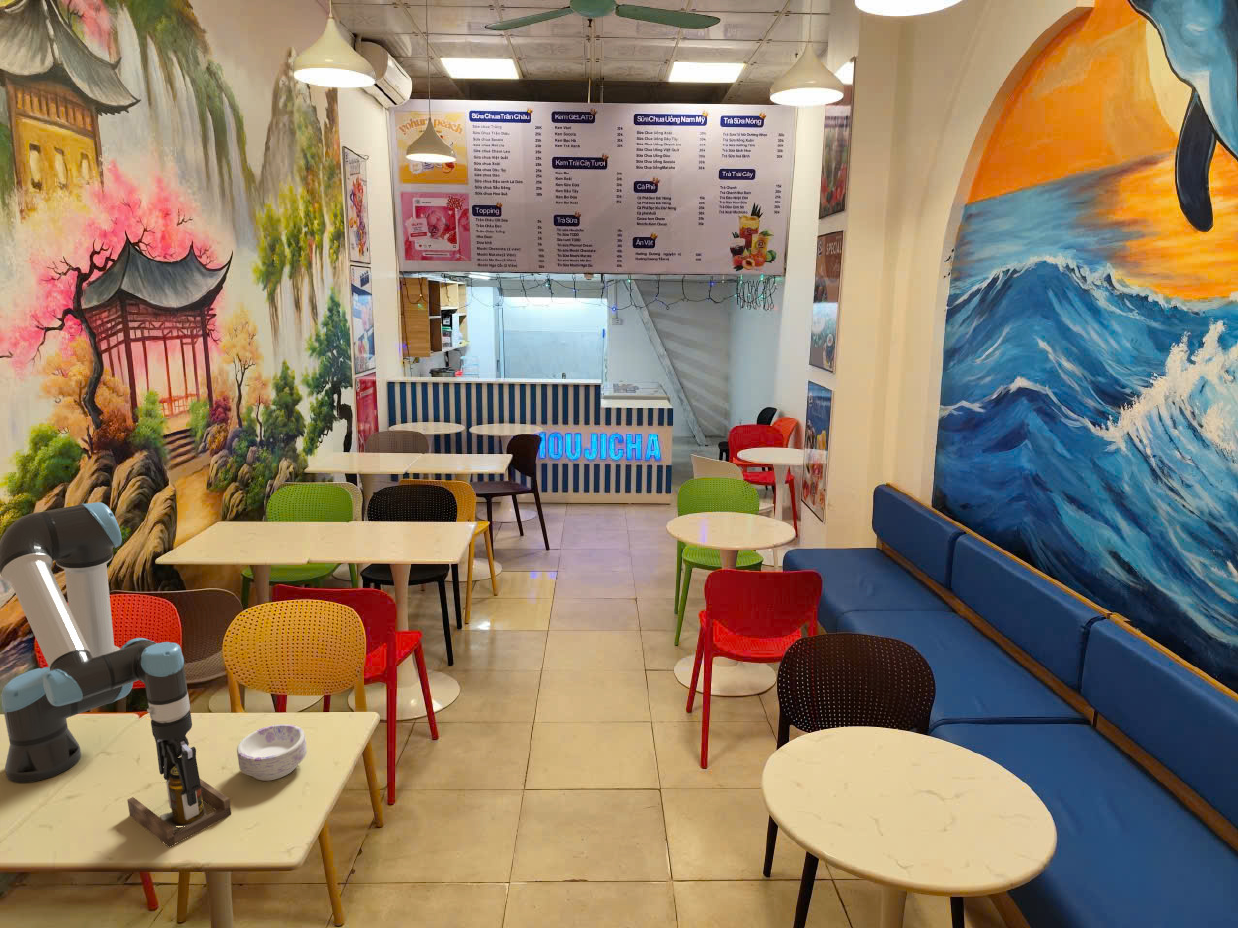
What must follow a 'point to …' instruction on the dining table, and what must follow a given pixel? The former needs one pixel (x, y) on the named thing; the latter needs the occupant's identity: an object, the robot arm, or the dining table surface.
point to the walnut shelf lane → (170, 838)
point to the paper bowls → (272, 751)
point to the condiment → (180, 803)
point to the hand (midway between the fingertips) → (184, 810)
